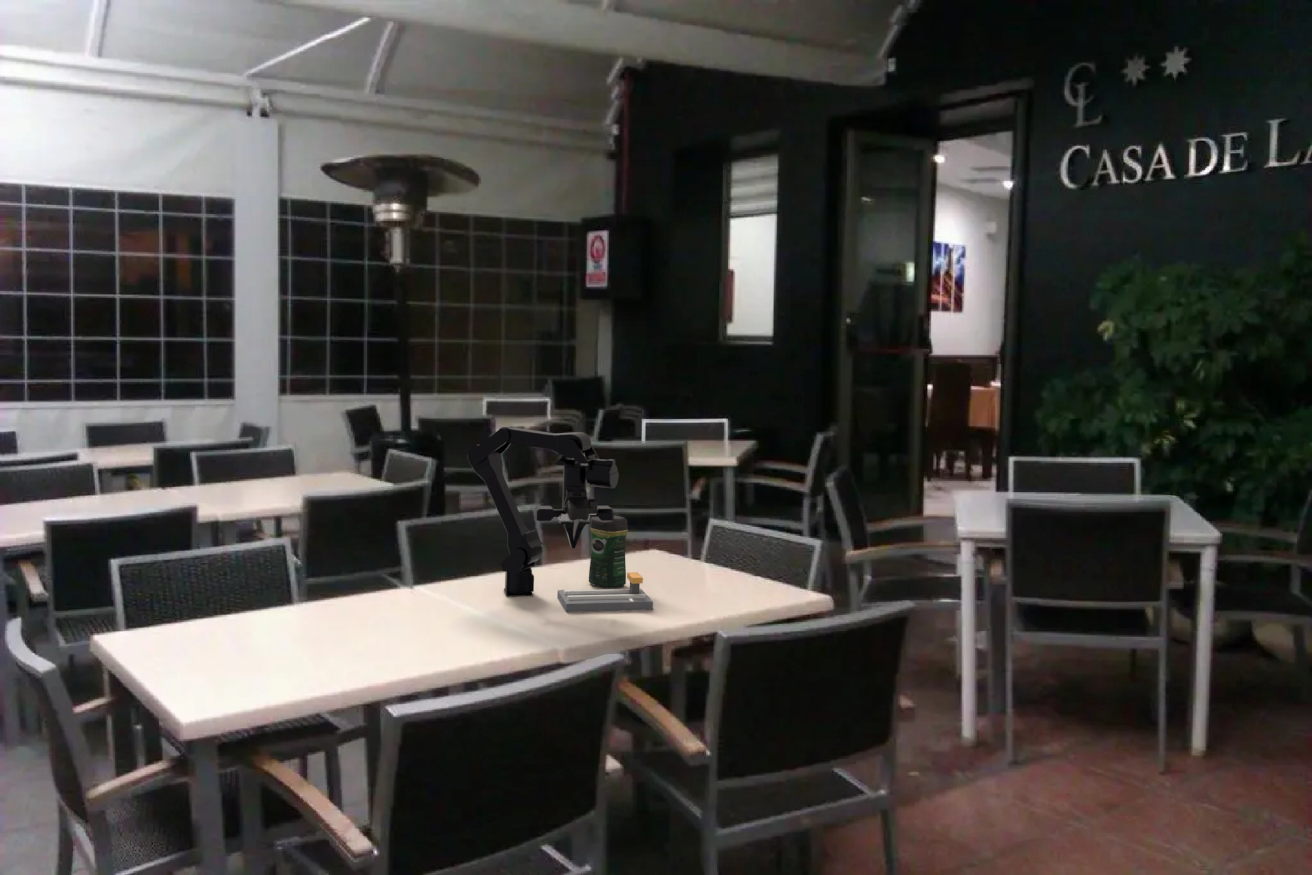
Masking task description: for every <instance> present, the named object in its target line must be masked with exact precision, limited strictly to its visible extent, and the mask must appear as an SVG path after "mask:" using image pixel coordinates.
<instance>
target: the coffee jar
mask: <svg viewBox="0 0 1312 875" xmlns="http://www.w3.org/2000/svg"><path fill="white" fill-rule="evenodd" d="M628 528H629V527H628V520H627V519H626V517H625V516H624V517H623V516H621V515H620V516H618V515H615V514H614V520H611V521H601V520H600V519H599V517H591V520H590V528H589V529H590V534H591V546H590V547H591V548H590V549H591V550H590V560H589V561H590V562H589V570H588V571H589V572H588V583H589V585H593V586H596V587H600V588H602V589H603V588H604V589H621V588H622V587H624V586H625V585H626V584H627V570H626V566H627V565H626V539H627V535H628V531H629V529H628Z"/></svg>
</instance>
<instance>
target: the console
mask: <svg viewBox="0 0 1312 875" xmlns="http://www.w3.org/2000/svg"><path fill="white" fill-rule="evenodd" d="M629 591H630V588H604V589H603V588H600V589H598V588H595V589H559V590H558V589H557V600H558V602H559V603H560V604H561V607H562V608H563V610H564V611H565V612H566V613H579V612H580V613H584V612H585V613H587V612H589V613H591V612H617V611H618V612H621V611H653V610H654V600H653V599H651V597H650V596H649V595H648V594H647V593H645V591H644V590H643V589H642V588H639V594H629Z"/></svg>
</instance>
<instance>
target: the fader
mask: <svg viewBox="0 0 1312 875" xmlns="http://www.w3.org/2000/svg"><path fill="white" fill-rule="evenodd" d="M627 579H628V581H629V589H630V591H629V594H639V588H640V586H641V585H640V584H644V583H643V582H644V578H643V575H641V574H640V573H639V572H638V571H637V572H636V571H635V572H633V571H632V572H626V580H627Z"/></svg>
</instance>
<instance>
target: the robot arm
mask: <svg viewBox="0 0 1312 875" xmlns="http://www.w3.org/2000/svg"><path fill="white" fill-rule="evenodd" d="M511 444H512V445H513V444H514V445H519V446H527V447H531V448H539V449H545V450H550V451H551V452H552V451H553V452H554V453H556V454H558V455H560V458H559V459H558V460H557V461H555V462H554V464H555V465H556V466H563V474H562V475H563V477H562V479H563V480H562V508H561V509H554V508H553V507H552V506H551V505H536V506H535V507H534V509H533V510H534V511H533V512H534V513H533V517H534V519H535V520H536V521H538V522H550V521H552V520H553V519H554V518H557V519H556V520H557V522H558V523H559V524H561V525H562V526H563V528H564V530H565V532H566V536H567V539H568V543H569V545H570V548H571V549H576V547H577V545H578V544H577V543H578V542H579V538H580V535H581V533H582V532H583V530H584V528H585V526H586V525H589V524H590V525H591V520H590V518H592V517H599V519H600V520H601V521H611V520H614V515H615V512H614V511H615V510H613V509H612V508H611V507H610V506H609V505H598V499H597V498H589V499H588V495H587V494H588V492H587V485H588V484H589V485H590V486H591V487H596V488H597V487H598V488H608V489H615V488H616V487H617V485H618V483H619V482H618V481H619V475H620V473H619V470H618V466H617V465H616V459H612V458H611V459H610V458H609V459H602V458H601V459H600V457H599V455H598V453H597V452H596V451H595V448H594V447H593V446H592V441H591V438H590V436H589V435H588V434H587V433H585V432H583V431H582V432H581V431H577V432H575V431H574V432H562V433H561V432H560V433H559V432H558V433H554V432H547V431H540V430H534V429H533V430H532V429H526V428H520V427H515V426H513V425H508V426H502V427H500V428H499V429H498V430H497V431H495V432H494V433H493V434H492V435H490V436H488V437H487V438H486V439H485V440H483V441H481V442H480V443H479V444H475V445H472V446H471V447H470V448H469V450H468V452H467V455H466V456H467V458H466V459H467V461H468V463H469V465H470V466H471V468H472V469H473V471H474V473H475V474H476V475H477V476H478V477H480V479H481V480H483V481H484V483H485V485H486V489H487V490H488V492H489V495H490V496H491V499H492V501H493V503H494V506H495V508H496V511H497V513H498V515H499V517H500V520H501V522H502V525H503V526H504V529H505V530H506V534H507V549H508V552H509V553H508V556H506V557H505V558H504V559H503V560H502V561H501V562H500V567H501V569H502V571H503V572H505V573H504V574H505V576H504V588H503V591H504V594H505V596H506V597H528V596H529V597H530V596H531V597H532V596H533V593H534V591H535V575H534V574H533V569H532V568H534V567H535V566H536V564H537V561H538V560H539V559H540V558H541V556H542V554H543V547H542V545H544V543H543V542H542V541H541V539H540V537H539V532H538V531H537V529H534V530H530V529H529V528H528V527H527V526H526V525H525V522H524V520H523V518H522V515H521V513H520V511H519V509H518V506H517V504H516V502H515V499H514V497H513V494H512V493H511V491H510V488H509V486H508V483H507V481H506V479H505V476H504V472H503V470H504V469H503V468H504V467H503V466H504V464H503V459H502V455H503V453H504V452H505V451H507V449H509V447H510V446H511Z"/></svg>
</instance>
